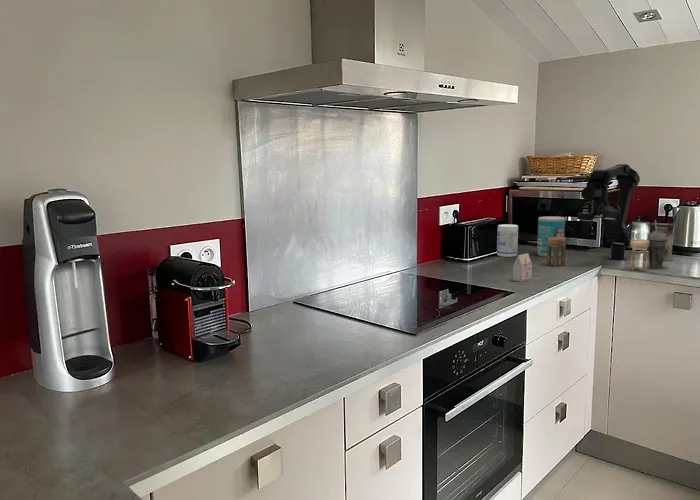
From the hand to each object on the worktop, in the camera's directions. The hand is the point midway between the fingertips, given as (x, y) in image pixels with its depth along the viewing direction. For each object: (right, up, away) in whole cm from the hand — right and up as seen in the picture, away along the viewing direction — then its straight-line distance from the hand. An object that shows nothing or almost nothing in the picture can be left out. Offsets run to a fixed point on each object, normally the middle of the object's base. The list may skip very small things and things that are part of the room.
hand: (597, 235), depth 241 cm
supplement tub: (-31, -9, +29) cm, 43 cm away
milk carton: (-39, -18, -23) cm, 49 cm away
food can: (-11, -9, +27) cm, 30 cm away
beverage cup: (+21, -14, -8) cm, 26 cm away
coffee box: (+32, -11, +9) cm, 35 cm away
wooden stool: (-17, -13, +3) cm, 21 cm away
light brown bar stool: (+12, -14, -10) cm, 21 cm away
